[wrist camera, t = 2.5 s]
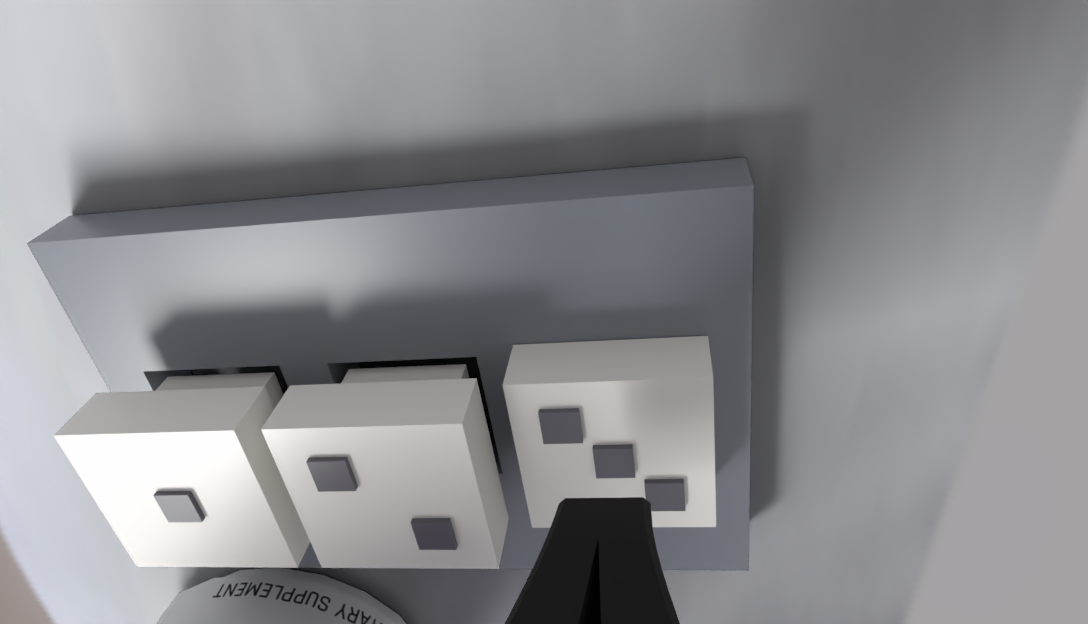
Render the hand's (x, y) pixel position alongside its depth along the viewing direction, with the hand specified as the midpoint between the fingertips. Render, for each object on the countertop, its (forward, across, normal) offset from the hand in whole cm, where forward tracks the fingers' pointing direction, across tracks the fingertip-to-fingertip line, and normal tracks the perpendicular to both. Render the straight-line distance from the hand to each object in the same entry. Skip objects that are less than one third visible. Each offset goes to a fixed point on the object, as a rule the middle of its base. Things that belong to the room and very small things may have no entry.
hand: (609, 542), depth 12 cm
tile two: (+4, +4, 0) cm, 6 cm away
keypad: (+4, +4, 0) cm, 6 cm away
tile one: (+4, +8, 0) cm, 9 cm away
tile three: (+5, 0, 0) cm, 5 cm away
